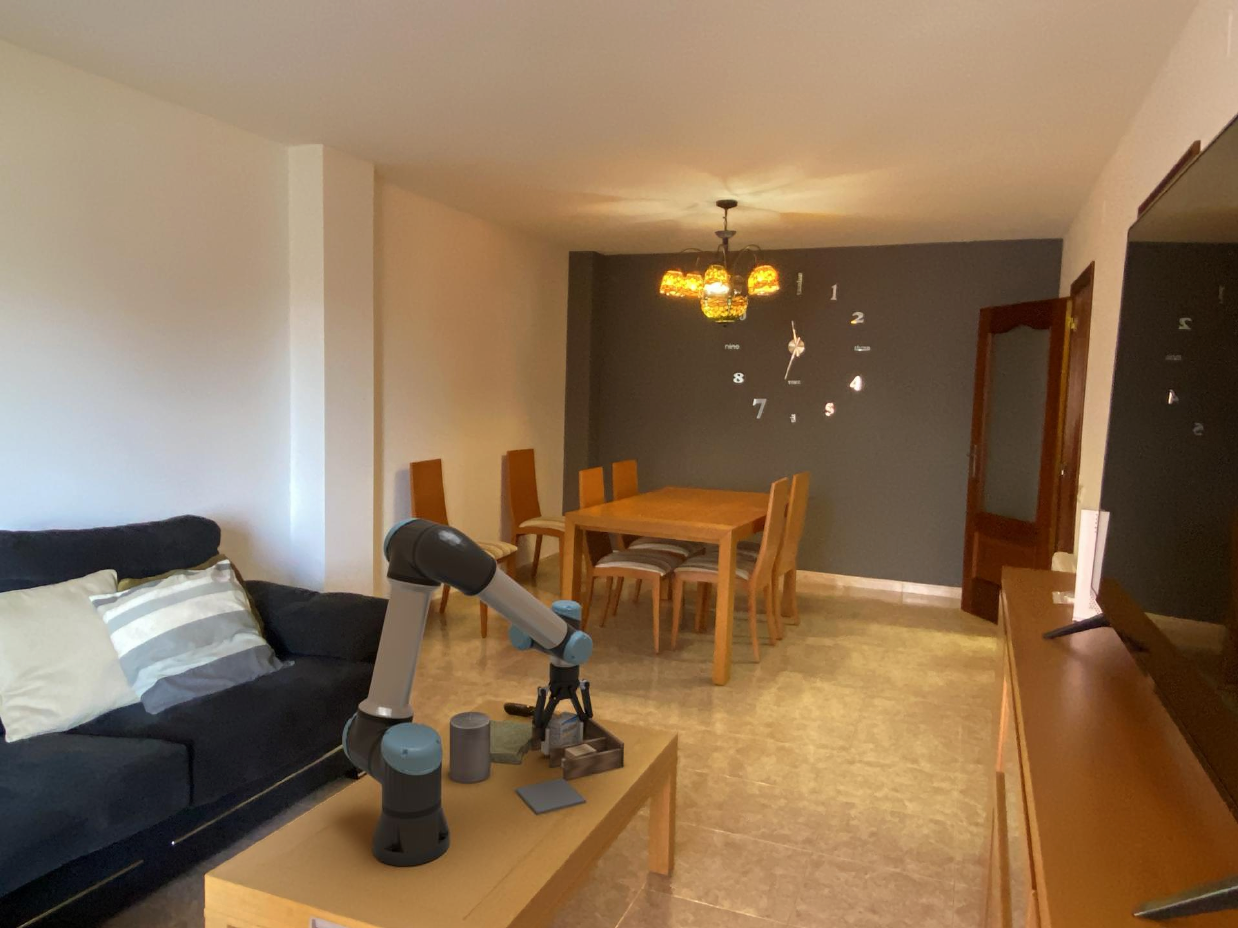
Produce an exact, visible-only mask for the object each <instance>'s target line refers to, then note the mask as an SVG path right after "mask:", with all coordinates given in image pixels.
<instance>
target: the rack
mask: <svg viewBox="0 0 1238 928" xmlns="http://www.w3.org/2000/svg"><path fill="white" fill-rule="evenodd" d="M578 719H579V717H578ZM541 744H542V741H540V740H539V728H536V727H535V726H532V746H531V748H530V749H531V750H532V751H535V750H539V749H541ZM582 744H587V745H589V746H590V747H592V748H593V749H595V750H596V754H591V755H587V756H582V757H578V758H573V759H569V760H564V769H563V773H562V774H563V777H562V778H563V779H564V780H565V781H568V780H573V779H576V778H577V779H578V778H583V777H586V776H590V775H594V774H598V773H604V772H607V771H610V770H615V769H619V768H624V761H625V760H624V759H625V757H624V755H625V743H624V742H623V741H622V740H620V739H619V738H618V737H617V736H615V735H614V734H613V733H611V732H610V731H608V730H607V729H606V728H605V727H603V726H602V725H601V724H599V723H598V722H596V721H595V720H594V719H593V718H589V719H588V722H587V723H586V731H585V733H583V741H582V742H578V743H573V744H568V745H564V746H559V747H554V748H550V754H549V767H550V768H556V767H561V759H563V758H565V749H567V748H571V747H575V746H578V745H582Z"/></svg>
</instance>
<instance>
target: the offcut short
mask: <svg viewBox="0 0 1238 928" xmlns="http://www.w3.org/2000/svg"><path fill="white" fill-rule="evenodd" d="M591 754H596V750H595V749H593V748H592V747H590V746H589V745H587V744H582V745H578V746H575V747H571V748H567V749H565V759H566V760H569V759H573V758H578V757H582V756H587V755H591Z"/></svg>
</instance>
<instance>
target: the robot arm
mask: <svg viewBox="0 0 1238 928" xmlns="http://www.w3.org/2000/svg"><path fill="white" fill-rule="evenodd" d="M382 548H383V555H384V558H385V560H386V561H387V562H388V567H387V573H386V579H387V581H388V583H390V586H391V589H390V594H389V597H388V602H387V608H386V612H385V616H384V620H383V621H384V622H383V625H382V630H381V635H380V639H379V645H378V648H377V649H378V650H377V653H376V659H375V662H374V663H375V664H374V668H373V672H372V677H371V683H370V686H369V690H368V691H369V692H368V695H367V698H365V699H364V700H362V701H361V702H360V703H359V704H358V708H357V711H355V713H354V714H353V715H352V717H350V718H349V719H348V720H347V722H346V723H345V726H344V728H343V730H342V731H343V732H342V738H341V742H342V749H343V751H344V755H346V757H347V759H349V761H350V762H351V763H352V764H353V765H354V766H355V767H356V768H357V769H359V770H362V771H363V772H364V773H366V775H368V776H369V777H371V778H372V779H373V780H375V781H376V782H377V783H379V784H380V785H381V812H380V816H379V818H378V821H377V824H376V827H375V830H374V834H373V836H372V854H373V855H374V857H375V858H376V859H377V860H378V861H380V862H382V863H385V864H387V865H390V866H396V867H397V866H398V867H409V866H410V867H411V866H417V865H422V864H426V863H429V862H432V861H433V860H435V859H437V858H438V859H439V857H441V856H443V854H445V853H446V851H447V850H448V848H450V844H451V832H450V827H449V824H448V821H447V818H446V816H445V811H444V809H443V805H442V790H443V789H442V786H443V784H442V781H443V780H442V778H443V777H442V775H443V773H442V772H443V769H442V767H443V756H444V753H443V744H442V738H441V736H440V734H439V732H438V731H437V730H436V729H435V728H433V727H432V726H429V725H427V724H425V723H420V724H419V723H418V722H413V720H414V715H415V711H414V709H413V707H412V706H411V705H410V699H411V695H412V690H413V684H414V682H415V681H414V680H415V675H416V671H417V667H418V666H417V665H418V661H419V657H420V656H419V655H420V653H421V652H420V651H421V647H422V642H423V638H424V632H425V628H426V623H427V618H428V614H429V613H428V612H429V609H430V605H431V600H432V595H433V593H434V592H436V590H439V588H441V587H442V585H446V586H448V587H452V588H453V589H455V590H458V591H459V592H461V594H464V595H465V596H466V597H469V598H470V597H471V598H472V597H473V598H474V597H475V598H477V599H478V600H480V601H481V602H482V603H484V604H485V605H486V606H488V607H489V608H490V609H492V610H493V611H495V612H496V613H497V614H499V615H500V616H502V617H503V618H504V619H505V620H507V621H508V622H510V626H509V630H508V634H509V635H508V636H509V641H510V644H511V646H512V647H513V648H514V649H515V650H517V651H529V650H535V651H538V652H540V653H543V654H546V655H549V661H550V663H549V673H548V674H549V681H548V684H547V685H545V686H541V685H540V686H539V685H538V687H537V688H536V689H537V698H536V701H535V708H534V711H533V716H532V720H531V724H532V725H534V726H535V727H536V728H539V740H540V741H542V744H541V753H543V754H544V755H545V756H547V755H550V754H549V729H548V728H547V725H548V723H549V721H550V719H552V718H553V717H552V716H553V714H554V712H555V710H556V708H557V705H559V704H560V701H564V700H570V702H571V703H572V704H571V705H572V707H573V708H574V710H575V714H577V715H578V717H579V719H578V742H582V741H584V739H583V733H585V731H586V723H587V722H588V719H589V718H591V719H593V718H594V712H593V707H592V701H591V696H590V685H591V682H589V681H588V680H586V679H584V678H583V679H582V680H579V679H580V678H579V677H580V665H584V664H585V663H586V662H587V661H589V659H590V657H591V655H592V653H593V648H594V644H593V639H592V638H591V636H590V635H589V634H587V633H585V632H584V631H583V630H582V621H583V620H582V607H581V605H580V604H579V603H578V602H577V601H573V600H567V599H564V600H556V601H553V603H552V604H551V606H550V607H551V608H549V607H548V606H546V605H545V604H544V603H543V602H541V601H540V600H539V599H538V598H536V597H535V596H534V595H532V593H531V592H529V591H527V589H525V588H524V587H523V586H521V585H520V584H519V583H518V582H516V581H515V580H514V579H513V578H512V577H511V576H509V575H508V574H506V573H505V572H504V571H502V569H500V568H499V567H498V562H497V560H496V559H495V558H494V557H493V556H492V555H491V554H489V553H488V552H487V551H486V550H485V549H484V548H482V547H481V546H480V545H479V544H478V543H476V542H475V541H474V540H473V539H472V538H471V537H469V536H468V535H466V534H465V533H464V532H462V531H461V530H459V529H458V528H456V527H454V526H450V525H447V524H446V525H445V524H442V523H438V522H435V521H433V520H428V519H427V518H426V519H425V518H417V517H410V518H405V519H403V520H401V521H399V522H397V523H395V524H394V526H392V527H391V529H389V531H388V532H387V534H386V536H385V538H384V541H383V546H382ZM578 689H580V695H581V700H582V705H581V703H580V701H579V696H578V694H577V693H576V692H577V690H578ZM549 692H550V695H549ZM548 695H549V697H548V701H547V696H548ZM546 702H547V704H546ZM545 705H546V706H545Z"/></svg>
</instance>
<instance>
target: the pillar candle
mask: <svg viewBox="0 0 1238 928" xmlns="http://www.w3.org/2000/svg"><path fill="white" fill-rule="evenodd" d="M491 720H492V719H491V716H490V715H488V714H487V713H484V712H480V711H465V712H460V713H457V714H454V715H453V716H452V717H450V720H449V766H448V767H449V771H448V773H449V778H450V779H451V780H452V781H453V782H455V783H460V784H473V783H478V782H481V781H482V782H483V781H485V780H486V779H487V778H489V777H490V774H491V763H490V721H491Z"/></svg>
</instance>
